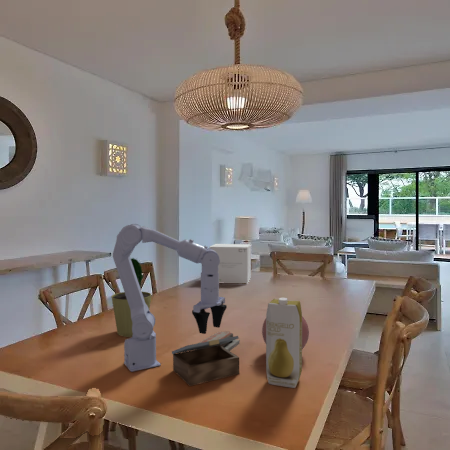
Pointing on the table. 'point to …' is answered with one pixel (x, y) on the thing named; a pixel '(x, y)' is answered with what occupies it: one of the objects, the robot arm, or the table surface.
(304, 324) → the balloon
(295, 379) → the juice carton
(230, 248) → the cube
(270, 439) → the table surface
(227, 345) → the packaged product
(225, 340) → the lid
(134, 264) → the potted cactus
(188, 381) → the box
